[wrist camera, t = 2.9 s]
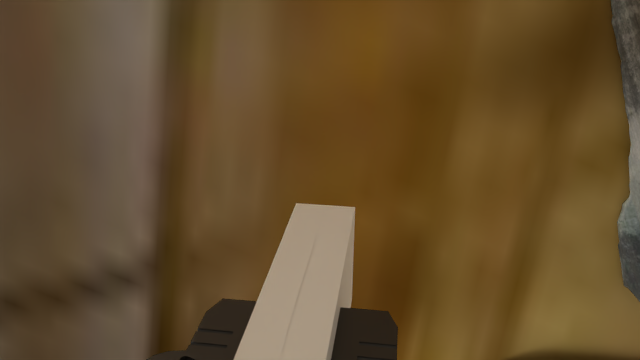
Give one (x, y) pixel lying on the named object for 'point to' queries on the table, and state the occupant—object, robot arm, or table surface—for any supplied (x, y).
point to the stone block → (636, 67)
